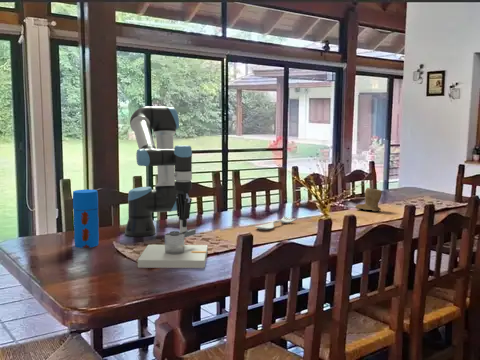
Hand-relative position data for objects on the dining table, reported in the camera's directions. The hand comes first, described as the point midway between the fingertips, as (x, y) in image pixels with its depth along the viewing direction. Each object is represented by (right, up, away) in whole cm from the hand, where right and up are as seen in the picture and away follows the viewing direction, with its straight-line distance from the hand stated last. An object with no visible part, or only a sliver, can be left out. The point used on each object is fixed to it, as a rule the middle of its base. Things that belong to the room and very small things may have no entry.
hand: (183, 233), depth 217 cm
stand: (-2, -9, -13) cm, 16 cm away
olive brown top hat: (+110, +4, +104) cm, 151 cm away
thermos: (-45, -6, +8) cm, 46 cm away
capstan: (0, -5, -9) cm, 11 cm away
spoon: (+45, -2, +53) cm, 69 cm away
